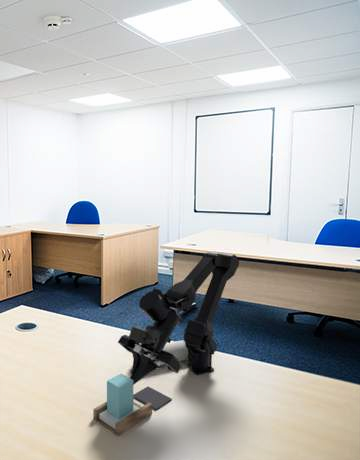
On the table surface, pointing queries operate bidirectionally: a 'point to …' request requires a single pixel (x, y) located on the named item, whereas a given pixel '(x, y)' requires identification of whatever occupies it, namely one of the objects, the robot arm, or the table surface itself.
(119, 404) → the blue pillar on plinth
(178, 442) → the table surface
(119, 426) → the track
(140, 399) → the dark gray rectangular plate
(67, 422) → the table surface
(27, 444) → the table surface
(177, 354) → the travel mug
